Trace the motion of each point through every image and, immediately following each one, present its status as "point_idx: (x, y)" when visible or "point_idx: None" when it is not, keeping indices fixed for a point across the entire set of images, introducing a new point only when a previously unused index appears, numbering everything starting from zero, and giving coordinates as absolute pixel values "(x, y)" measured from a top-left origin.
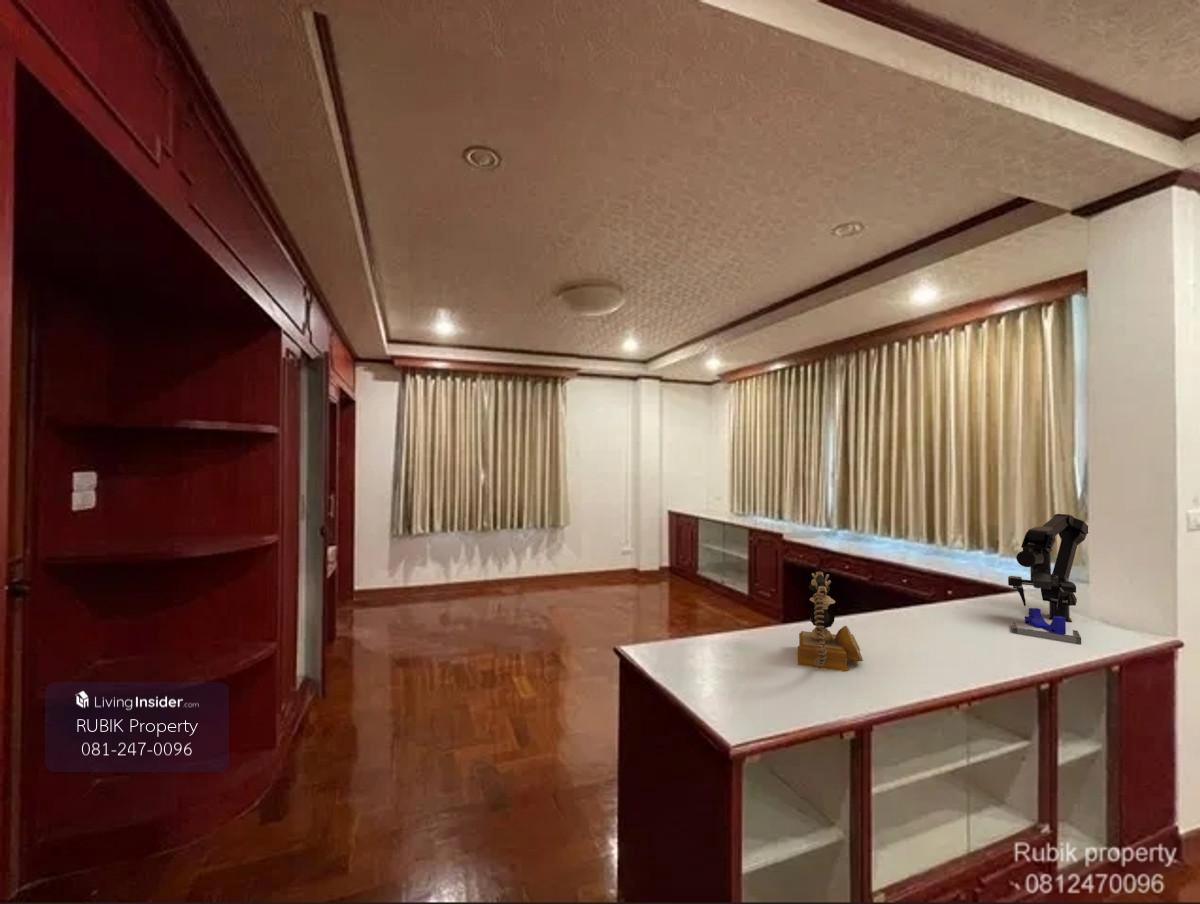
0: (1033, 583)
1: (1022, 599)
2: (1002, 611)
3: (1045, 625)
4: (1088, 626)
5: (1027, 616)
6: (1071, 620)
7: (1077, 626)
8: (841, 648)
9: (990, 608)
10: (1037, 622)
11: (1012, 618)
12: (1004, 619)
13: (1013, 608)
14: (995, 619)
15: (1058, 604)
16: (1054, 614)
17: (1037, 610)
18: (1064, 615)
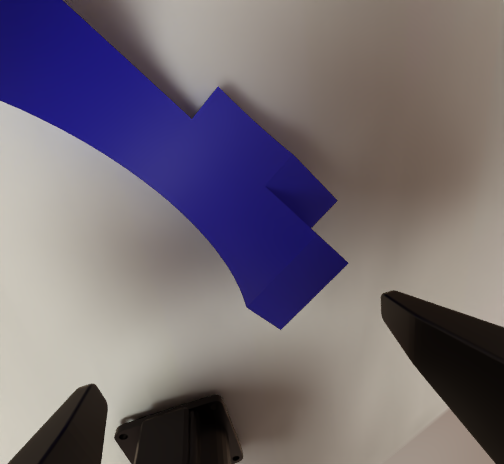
0: None
1: (480, 324)
2: (415, 371)
3: (175, 147)
4: (33, 432)
5: (319, 216)
6: (121, 446)
7: (71, 388)
8: None
9: None
10: (235, 156)
11: (376, 274)
12: (416, 211)
13: (373, 450)
14: (463, 163)
15: (34, 459)
16: (195, 438)
17: (267, 274)
18: (139, 453)
